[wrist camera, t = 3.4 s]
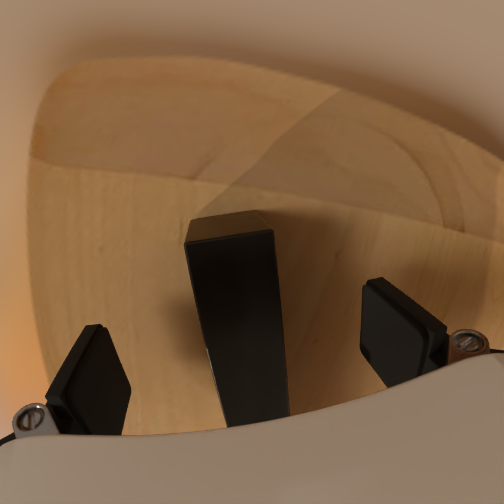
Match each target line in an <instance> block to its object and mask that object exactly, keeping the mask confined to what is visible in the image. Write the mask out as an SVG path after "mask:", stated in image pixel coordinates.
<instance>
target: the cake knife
mask: <svg viewBox="0 0 504 504" xmlns="http://www.w3.org/2000/svg"><path fill="white" fill-rule="evenodd" d="M184 249H185V254H186V259H187V264H188V269H189V274H190V279H191V284H192V289H193V294H194V298H195V303H196V307H197V312H198V316H199V321H200V325H201V329H202V334H203V338H204V342H205V346H206V350H207V354H208V358H209V362H210V366H211V370H212V374H213V378H214V382H215V386H216V389H217V393H218V397H219V400H220V404H221V408H222V411H223V415H224V418H225V422H226V425H227V428H229V427H235V426H242V425H248V424H254V423H259V422H265V421H270V420H275V419H280V418H285V417H289V416H290V409H289V396H288V382H287V369H286V357H285V345H284V333H283V322H282V310H281V300H280V289H279V278H278V268H277V258H276V248H275V239H274V231H273V229H272V228H271V227H270V226H269V225H268V223H267V222H266V221H265V220H264V219H263V218H262V217H261V216H260V214H259V213H258V212H257V211H256V210H251V211H244V212H237V213H231V214H224V215H217V216H211V217H205V218H198V219H192V220H191V221H190V224H189V228H188V231H187V235H186V239H185V242H184Z"/></svg>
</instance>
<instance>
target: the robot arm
mask: <svg viewBox="0 0 504 504" xmlns="http://www.w3.org/2000/svg"><path fill="white" fill-rule="evenodd" d="M446 332H447V326H446V325H444V324H443V323H442V322H441V321H439V320H438V319H437V318H436V317H434V316H433V315H432V314H430V313H429V312H428V311H427V310H425V309H424V308H423V307H421V306H420V305H419V304H418V303H416V302H415V301H414V300H412V299H411V298H410V297H408V296H407V295H406V294H404V293H403V292H402V291H400V290H399V289H398V288H396V287H395V286H394V285H392V284H391V283H390V282H388V281H387V280H386V279H384V278H383V277H379V278H375V279H370V280H368V281H367V282H366V285H363V288H362V313H361V332H360V350H361V353H362V354H363V356H364V357H365V358H366V360H367V361H368V362H369V364H370V365H371V366H372V368H373V369H374V370H375V372H376V373H377V374H378V376H379V377H380V378H381V380H382V381H383V382H384V384H385V385H386V386H387V389H384V390H381V391H378V392H375V393H372V394H369V395H366V396H363V397H360V398H357V399H354V400H350V401H347V402H343V403H340V404H337V405H333V406H329V407H326V408H322V409H318V410H314V411H310V412H306V413H302V414H298V415H294V416H289V417H285V418H280V419H275V420H270V421H265V422H259V423H254V424H248V425H242V426H235V427H229V428H221V429H213V430H205V431H195V432H184V433H171V434H155V435H121V434H122V430H123V425H124V421H125V416H126V412H127V408H128V404H129V400H130V396H131V386H130V383H129V381H128V379H127V376H126V374H125V372H124V369H123V367H122V364H121V362H120V360H119V357H118V355H117V352H116V350H115V347H114V344H113V342H112V339H111V336H110V334H109V331H108V329H107V328H106V327H104V328H103V326H102V325H101V324H95V325H86V326H85V328H84V329H83V331H82V332H81V334H80V336H79V337H78V339H77V341H76V342H75V344H74V346H73V347H72V349H71V351H70V352H69V354H68V356H67V357H66V359H65V361H64V363H63V364H62V366H61V368H60V370H59V371H58V373H57V375H56V377H55V378H54V380H53V382H52V384H51V386H50V388H49V389H48V391H47V393H46V395H45V398H46V399H47V403H46V405H43V404H41V403H32V404H29V405H26V406H24V407H23V408H21V409H20V410H19V411H18V412H17V413H16V414H15V416H14V418H13V421H12V426H13V430H14V432H13V433H12V434H10V435H8V436H6V437H4V438H2V439H1V440H0V504H504V350H496V349H490V347H489V342H488V339H487V338H486V337H485V336H484V335H483V334H482V333H480V332H478V331H475V330H471V329H461V330H457V331H455V332H453V333H452V334H451V335H450V336H449V335H448V334H447V333H446Z"/></svg>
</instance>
